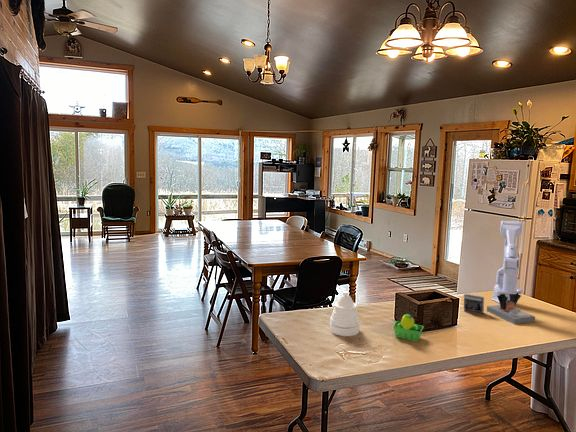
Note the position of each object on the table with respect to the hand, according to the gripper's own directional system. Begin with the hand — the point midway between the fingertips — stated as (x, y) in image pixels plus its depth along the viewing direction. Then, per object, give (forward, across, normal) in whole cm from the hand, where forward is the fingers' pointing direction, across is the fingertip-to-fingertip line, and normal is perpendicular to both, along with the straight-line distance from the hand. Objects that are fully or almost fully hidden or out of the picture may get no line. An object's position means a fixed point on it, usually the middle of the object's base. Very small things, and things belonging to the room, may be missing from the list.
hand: (507, 308), depth 215 cm
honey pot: (+3, -86, +1) cm, 86 cm away
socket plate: (+3, 0, -2) cm, 4 cm away
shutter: (+1, 0, -8) cm, 8 cm away
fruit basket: (+3, -63, -13) cm, 64 cm away
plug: (+3, 0, 0) cm, 3 cm away
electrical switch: (+3, -14, +7) cm, 16 cm away
